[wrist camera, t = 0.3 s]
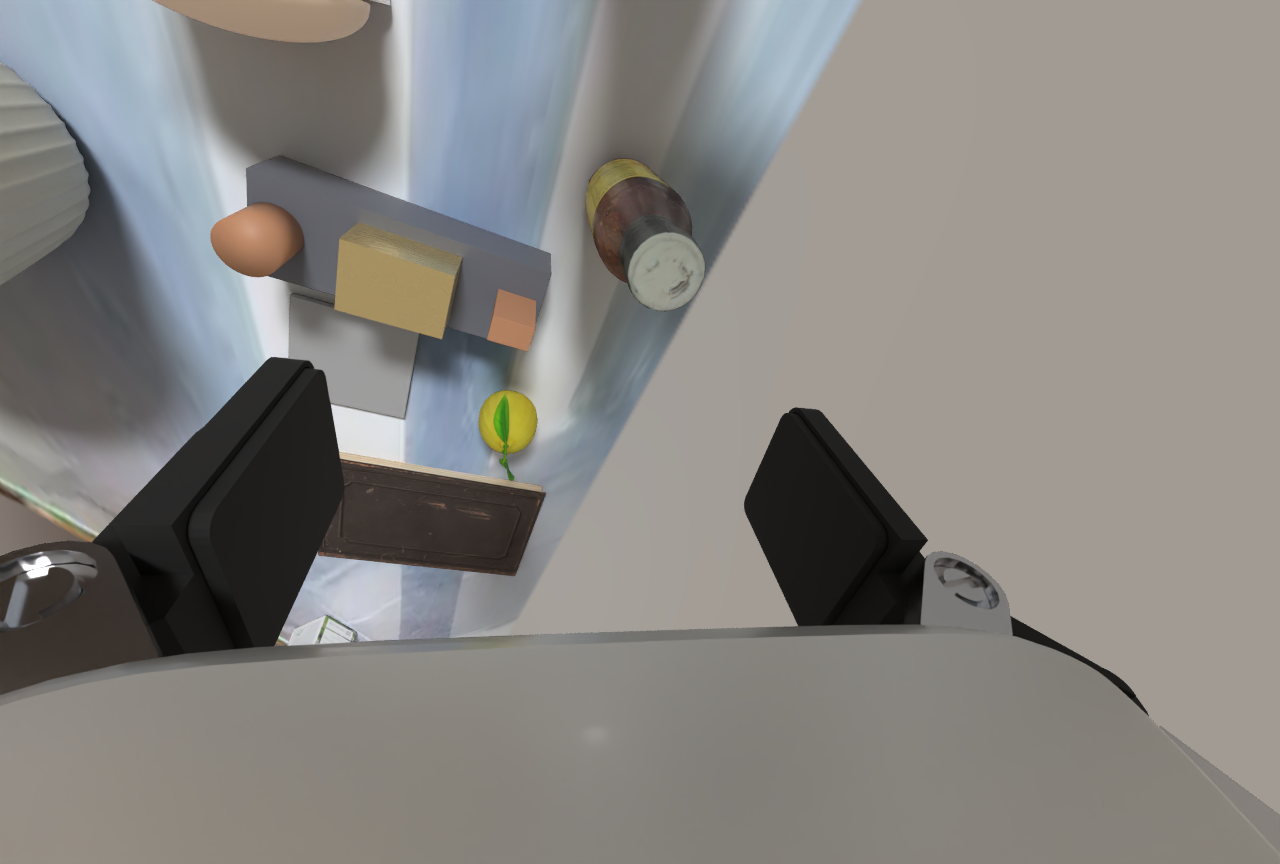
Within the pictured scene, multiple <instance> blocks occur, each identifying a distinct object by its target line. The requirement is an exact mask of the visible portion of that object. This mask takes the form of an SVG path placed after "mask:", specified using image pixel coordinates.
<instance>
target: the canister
mask: <svg viewBox="0 0 1280 864" xmlns="http://www.w3.org/2000/svg"><path fill="white" fill-rule="evenodd" d="M83 161H84V158H83V156H82V155H81V154H80V152H79V150H78V148H77V146H76V141H75V140H74V139H73V138H72V137H71V135H70V134H69V132H68V131H67V129H66V127H65V123H64V122H62V121H61V120H60V119H59V118H58V116H57V115H56V114H55V113H54V111H53V110H52V107H51V105H49V104H48V103H46V102H45V101H44V100H43V99H42V98H41V97H40V96H39V95H38V93H37V92H36V90H35V89H34V88H33V87H32V86H31V85H29V84H27V83H26V82H25V81H24V80H23V79H22V78H21V77H20V76H19V75H18V74H17V73H16V72H15V71H14V70H13V69H12V68H10V67H8V66H6V65H5V64H3V63H2V62H0V285H2V284H3V283H5V282H7V281H8V280H10V279H11V278H13V277H15V276H16V275H18V274H19V273H21V272H22V271H24V270H25V269H27V268H28V267H30V266H31V265H33V264H34V263H36V262H37V261H39V260H40V259H41V258H43V257H44V256H46V255H47V254H49V253H50V252H52V251H53V250H54V249H56V248H57V247H58V246H60V245H61V244H62V243H63V242H65V241H66V240H67V239H69V238H70V237H71V236H72V235H73V234H74V233H75V232H76V230H77V228H78V226H79V225H80V224H81V223H82V222H83V220H84V218H85V212H86V210H87V209H88V207H89V199H88V196H89V194H90V191H91V189H90V186H89V184H88V177H89V174H88V172H87V171H86V169H85V166H84V163H83Z"/></svg>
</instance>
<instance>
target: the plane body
mask: <svg viewBox="0 0 1280 864" xmlns="http://www.w3.org/2000/svg"><path fill="white" fill-rule="evenodd" d="M246 177H247V207H246V208H244V209H242V210H240V211H238V212H236V213H234V214H232V215H230V216H228V217H226V218H224V219H222V220H220V221H219V222H217V223H216V224H215V225H214V226H213V228H212V231H211V243H212V246H213V248H214V250H215V252H216V254H217V255H218V256H219V258H220V259H221V260H222V261H223V262H224V263H225V264H226V265H228V266H229V267H230V268H232V269H233V270H235V271H237V272H239V273H241V274H244V275H247V276H251V277H264V276H269V277H273V278H276V279H280V280H283V281H287V282H290V283H294V284H297V285H301V286H304V287H308V288H311V289H315V290H318V291H322V292H325V293H329V294H332V295H335V293H336V279H337V266H338V252H339V239H340V238H341V237H342V236H343V235H344V234H345V233H346V232H348V231H349V230H350V229H351V228H352V227H353V226H354V225H355V224H356V223H358V222H360V223H363V224H366V225H369V226H372V227H375V228H378V229H381V230H384V231H387V232H390V233H393V234H396V235H399V236H402V237H404V238H407V239H410V240H413V241H416V242H419V243H422V244H425V245H428V246H431V247H434V248H437V249H440V250H443V251H446V252H449V253H452V254H455V255H458V256H461V257H463V258H462V263H461V267H460V272H459V277H458V282H457V286H456V291H455V296H454V300H453V305H452V310H451V315H450V318H449V321H448V324H447V327H448V328H451V329H455V330H458V331H462V332H465V333H469V334H472V335H476V336H479V337H483V338H486V339H487V340H489V341H493V342H496V343H500V344H503V345H507V346H510V347H514V348H517V349H521V350H525V351H528V350H529V346H530V343H531V340H532V337H533V334H534V331H535V324H536V321H537V318H538V315H539V311H540V308H541V305H542V302H543V299H544V296H545V292H546V289H547V286H548V283H549V280H550V277H551V254H550V253H547V252H544V251H542V250H539V249H536V248H533V247H531V246H528V245H525V244H522V243H519V242H517V241H514V240H511V239H508V238H506V237H503V236H500V235H497V234H495V233H492V232H489V231H486V230H484V229H481V228H478V227H475V226H473V225H470V224H467V223H464V222H462V221H459V220H456V219H453V218H450V217H448V216H445V215H442V214H439V213H437V212H434V211H431V210H428V209H426V208H423V207H420V206H417V205H415V204H412V203H409V202H406V201H404V200H401V199H398V198H395V197H393V196H390V195H387V194H384V193H382V192H379V191H376V190H373V189H370V188H368V187H365V186H362V185H359V184H357V183H354V182H351V181H348V180H346V179H343V178H340V177H337V176H335V175H332V174H329V173H326V172H324V171H321V170H318V169H315V168H313V167H310V166H307V165H304V164H302V163H299V162H296V161H293V160H290V159H288V158H285V157H282V156H277V157H274V158H272V159H269V160H266V161H264V162H261V163H258V164H256V165H253V166H250V167H248V168H246Z"/></svg>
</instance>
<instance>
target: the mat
mask: <svg viewBox="0 0 1280 864" xmlns="http://www.w3.org/2000/svg"><path fill="white" fill-rule="evenodd" d="M334 307H335V305H333V304H329V303H326V302H322V301H319V300H315V299H311V298H308V297H304V296H301V295H297V294H293V293H292V294H291V295H290V307H289V359H298V360H309V361H310V362H311V363H312V364H313V366H314V369H320V370H323V371H324V373H325V376H326V380H327V386H328V392H329V398H330V403H335V404H339V405H344V406H348V407H353V408H358V409H362V410H367V411H372V412H376V413H381V414H385V415H390V416H395V417H399V418H404V416H405V412H406V406H407V401H408V395H409V390H410V384H411V378H412V373H413V367H414V362H415V356H416V350H417V345H418V339H419V333H417V332H414V331H410V330H406V329H403V328H399V327H395V326H392V325H388V324H385V323H381V322H377V321H374V320H370V319H367V318H363V317H359V316H356V315H352V314H348V313H345V312H341V311H338V310H334Z"/></svg>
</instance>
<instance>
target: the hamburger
mask: <svg viewBox="0 0 1280 864" xmlns="http://www.w3.org/2000/svg"><path fill="white" fill-rule="evenodd" d="M153 1H155V2H157V3H159V4H160V5H162V6H164V7H167V8H169V9H171V10H173V11H175V12H178V13H180V14H182V15H185V16H187V17H190V18H192V19H195V20H198V21H200V22H203V23H206V24H209V25H212V26H215V27H218V28H221V29H224V30H228V31H231V32H235V33H239V34H243V35H247V36H252V37H257V38H262V39H268V40H275V41H283V42H296V43H315V42H326V41H332V40H337V39H341V38H344V37H347V36H349V35H351V34H353V33H355V32H356V31H358V30H359V29H360V28H362V27H363V25H364V24H365V23H366V21H367V20H368V17H369V14H370V4H369V3H367V2H364V1H362V0H153ZM370 1H374V2H378V3H382V4H386V5H390V0H370Z"/></svg>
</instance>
